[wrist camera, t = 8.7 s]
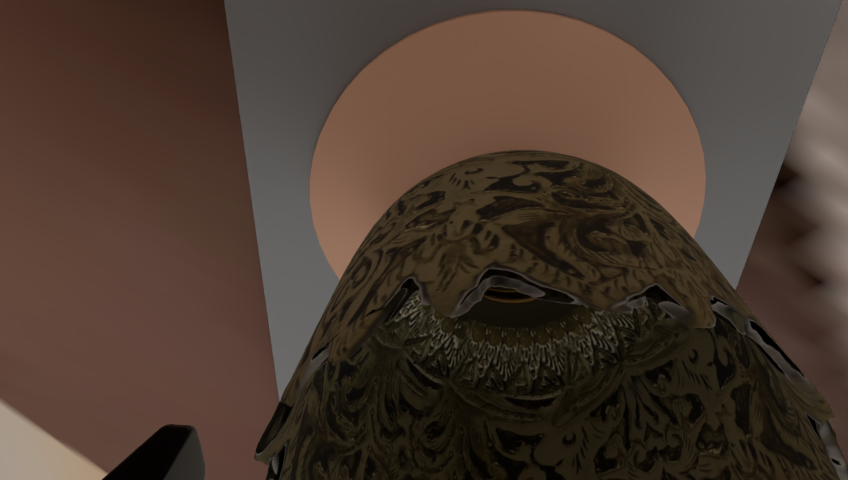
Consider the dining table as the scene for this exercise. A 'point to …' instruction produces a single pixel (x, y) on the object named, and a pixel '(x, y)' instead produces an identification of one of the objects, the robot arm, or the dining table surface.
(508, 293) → the decorative vase
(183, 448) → the robot arm
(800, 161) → the dining table surface
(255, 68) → the board
